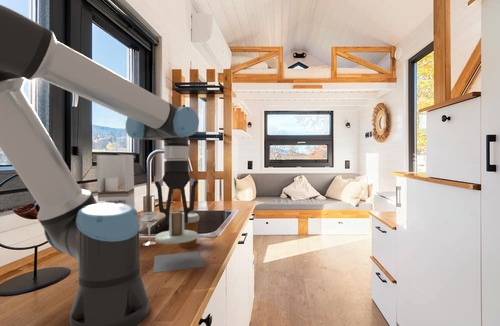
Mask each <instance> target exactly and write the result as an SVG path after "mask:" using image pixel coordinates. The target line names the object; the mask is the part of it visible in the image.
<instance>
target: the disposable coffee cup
mask: <svg viewBox="0 0 500 326" xmlns="http://www.w3.org/2000/svg"><path fill="white" fill-rule="evenodd" d="M200 219H201V218H200V215H199V214H198V213H196V212H189V213H188V223H184V230H191V231H195V232H197V233H198V229H199V221H200ZM197 239H198V238H197ZM197 239H195V240H193V241H190V242H185V243H177V244H178V247H179V248H183V249H188V248H193V247H195V246H196V245H197Z"/></svg>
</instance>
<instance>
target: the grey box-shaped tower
mask: <svg viewBox="0 0 500 326" xmlns="http://www.w3.org/2000/svg"><path fill="white" fill-rule="evenodd" d="M134 161H135V160H134V154H117V155H116V154H113V155H111V154H110V155H109V154H108V155H107V154H96V178H97V185H96V186H97V202H104V203H115V204H118V203H121V204H126V205H129V206H132V207H134V208H135V205H136V204H135V170H134V168H135V167H134V166H135V165H134V164H135V163H134ZM135 209H136V208H135Z"/></svg>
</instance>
